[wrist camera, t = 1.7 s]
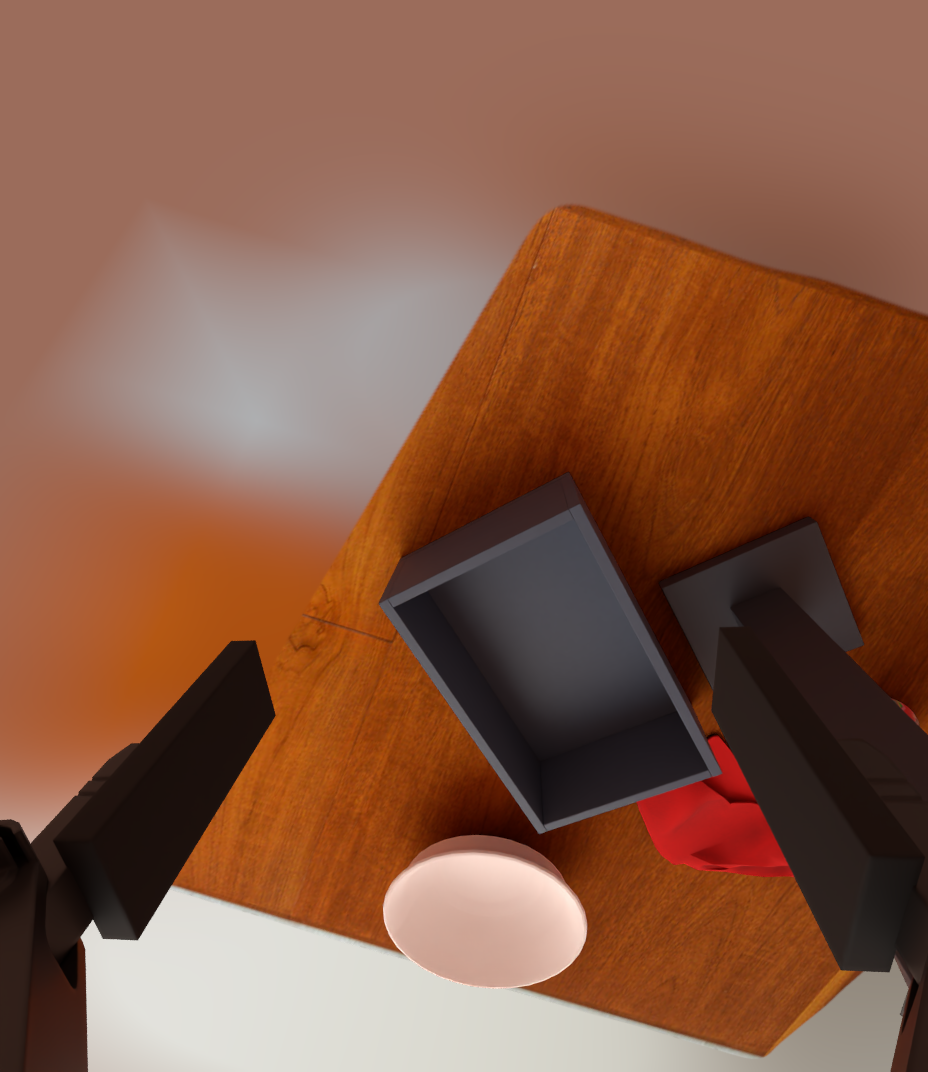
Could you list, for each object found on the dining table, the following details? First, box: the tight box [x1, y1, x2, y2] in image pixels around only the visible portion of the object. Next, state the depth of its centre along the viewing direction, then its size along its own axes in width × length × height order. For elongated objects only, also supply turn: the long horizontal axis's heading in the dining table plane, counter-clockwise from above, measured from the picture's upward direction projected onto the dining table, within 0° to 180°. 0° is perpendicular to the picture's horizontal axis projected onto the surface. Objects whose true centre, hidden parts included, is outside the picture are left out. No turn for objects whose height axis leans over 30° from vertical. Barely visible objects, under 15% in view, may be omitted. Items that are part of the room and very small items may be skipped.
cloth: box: [637, 735, 794, 877], centre depth 52 cm, size 26×14×2 cm, turn 47°
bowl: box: [383, 835, 587, 988], centre depth 55 cm, size 20×20×6 cm
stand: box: [659, 517, 928, 988], centre depth 31 cm, size 12×12×28 cm
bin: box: [379, 472, 723, 834], centre depth 43 cm, size 16×25×8 cm, turn 30°
